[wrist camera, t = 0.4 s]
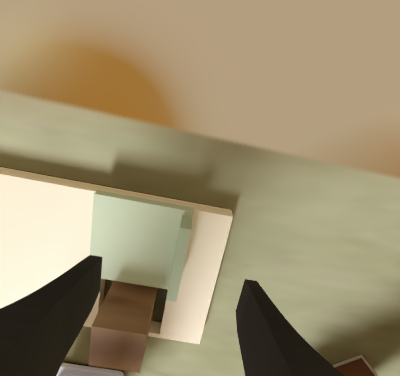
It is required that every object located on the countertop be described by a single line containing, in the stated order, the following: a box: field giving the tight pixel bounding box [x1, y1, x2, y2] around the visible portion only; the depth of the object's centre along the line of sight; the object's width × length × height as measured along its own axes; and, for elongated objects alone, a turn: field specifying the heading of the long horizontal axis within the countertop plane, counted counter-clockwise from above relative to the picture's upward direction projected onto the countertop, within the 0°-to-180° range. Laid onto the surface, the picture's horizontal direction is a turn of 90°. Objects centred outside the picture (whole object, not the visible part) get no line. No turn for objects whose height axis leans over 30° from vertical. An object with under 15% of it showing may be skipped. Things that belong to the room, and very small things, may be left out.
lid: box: [90, 190, 194, 302], centre depth 20 cm, size 8×8×3 cm
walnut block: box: [88, 281, 158, 373], centre depth 22 cm, size 4×4×6 cm
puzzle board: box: [0, 167, 233, 344], centre depth 23 cm, size 14×20×1 cm
